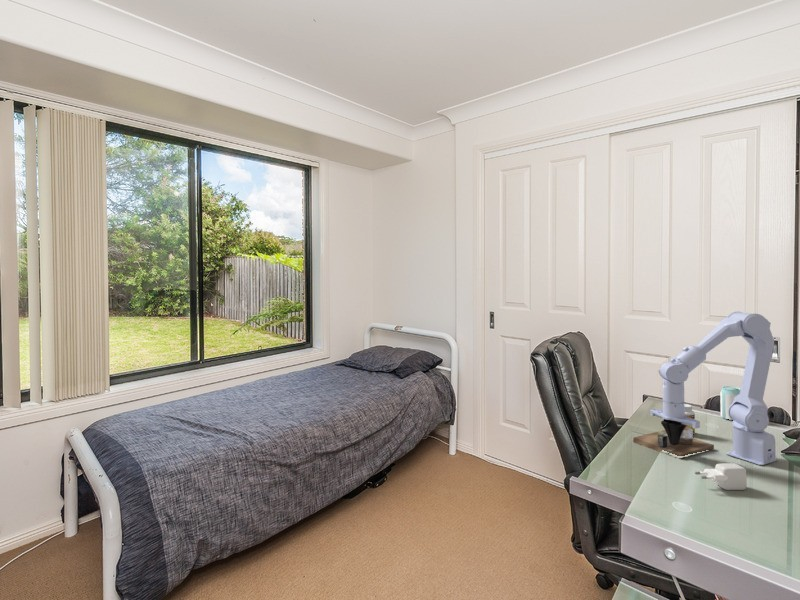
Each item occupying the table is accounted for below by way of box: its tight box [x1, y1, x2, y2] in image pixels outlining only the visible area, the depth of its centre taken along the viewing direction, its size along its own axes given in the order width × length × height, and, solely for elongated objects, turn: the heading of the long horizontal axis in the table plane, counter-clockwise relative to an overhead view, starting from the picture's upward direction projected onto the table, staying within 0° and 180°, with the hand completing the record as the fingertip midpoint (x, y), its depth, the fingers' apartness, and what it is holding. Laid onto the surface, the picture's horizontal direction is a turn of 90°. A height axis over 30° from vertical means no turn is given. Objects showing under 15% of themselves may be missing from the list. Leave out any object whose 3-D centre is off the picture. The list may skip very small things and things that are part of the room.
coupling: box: [658, 426, 694, 448], centre depth 136 cm, size 13×6×5 cm, turn 112°
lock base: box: [632, 429, 715, 456], centre depth 139 cm, size 16×16×2 cm
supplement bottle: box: [685, 403, 696, 435], centre depth 148 cm, size 6×6×10 cm
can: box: [719, 386, 741, 421], centre depth 161 cm, size 7×7×12 cm
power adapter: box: [694, 462, 748, 491], centre depth 110 cm, size 11×5×6 cm, turn 87°
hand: (674, 444), depth 132 cm, fingers closed
